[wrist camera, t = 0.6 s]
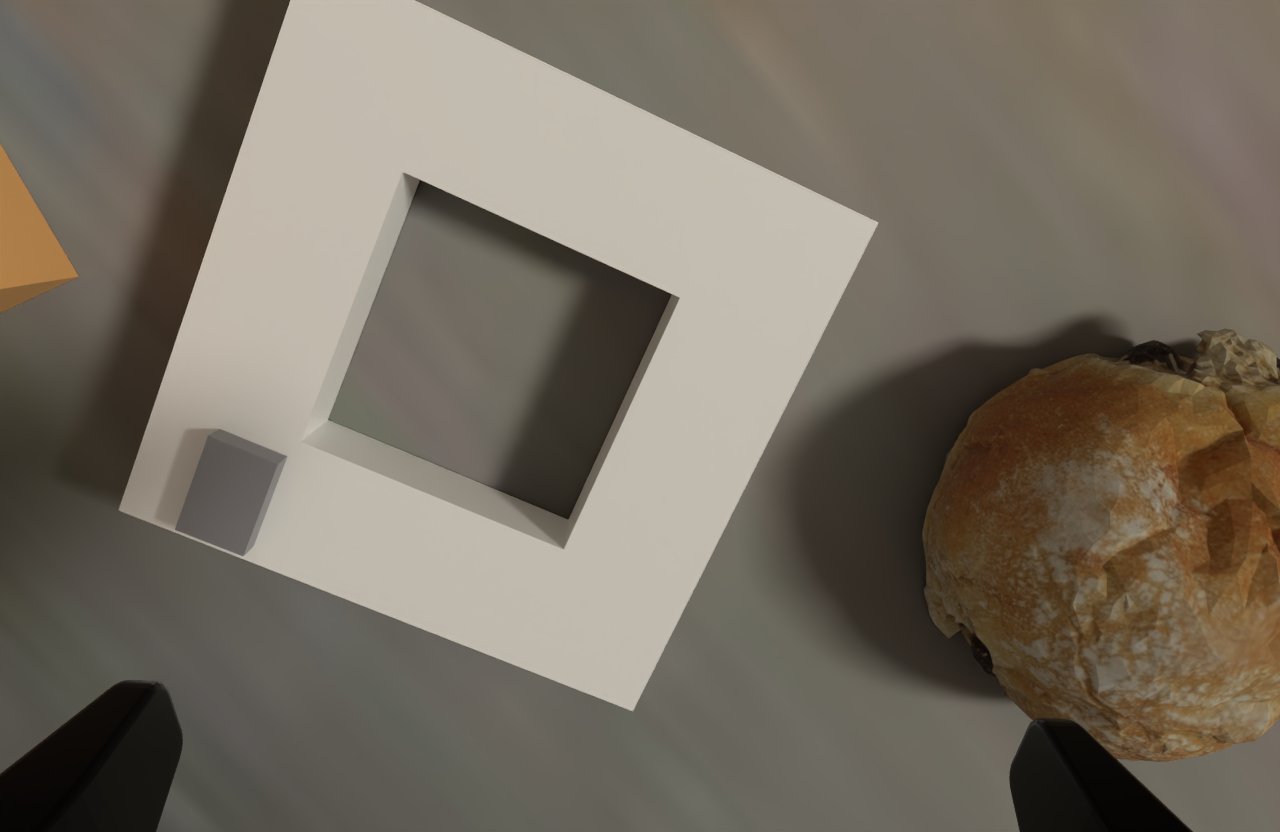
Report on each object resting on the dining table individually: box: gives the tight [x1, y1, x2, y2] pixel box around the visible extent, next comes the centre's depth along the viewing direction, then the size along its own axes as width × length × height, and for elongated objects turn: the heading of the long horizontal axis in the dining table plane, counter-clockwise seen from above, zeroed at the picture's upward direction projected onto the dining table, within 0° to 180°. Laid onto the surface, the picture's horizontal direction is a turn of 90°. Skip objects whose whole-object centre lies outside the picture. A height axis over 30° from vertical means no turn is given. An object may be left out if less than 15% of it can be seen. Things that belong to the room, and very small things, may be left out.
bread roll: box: [922, 329, 1280, 762], centre depth 22 cm, size 10×10×8 cm
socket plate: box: [119, 0, 878, 711], centre depth 21 cm, size 13×13×3 cm
